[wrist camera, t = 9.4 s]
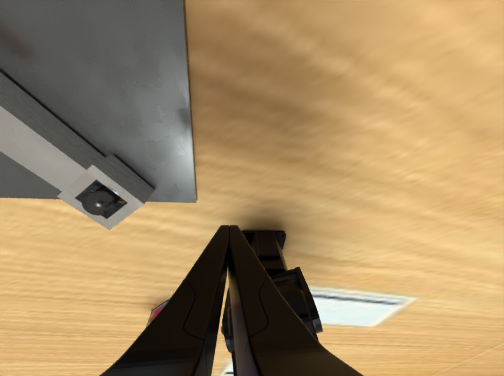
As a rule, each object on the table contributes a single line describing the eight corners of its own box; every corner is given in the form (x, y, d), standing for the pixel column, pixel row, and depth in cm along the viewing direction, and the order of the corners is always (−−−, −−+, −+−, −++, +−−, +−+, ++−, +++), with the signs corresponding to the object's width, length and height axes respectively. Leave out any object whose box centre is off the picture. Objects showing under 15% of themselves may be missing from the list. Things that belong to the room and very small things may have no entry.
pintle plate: (196, 200, 22) (188, 224, 18) (-14, 194, 19) (-79, 221, 15) (182, -22, 13) (159, -72, 9) (-224, -95, 10) (-529, -218, 6)
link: (154, 190, 20) (144, 204, 17) (123, 213, 21) (109, 229, 18) (-70, 0, 12) (-150, -23, 9) (-101, 55, 13) (-180, 47, 10)
